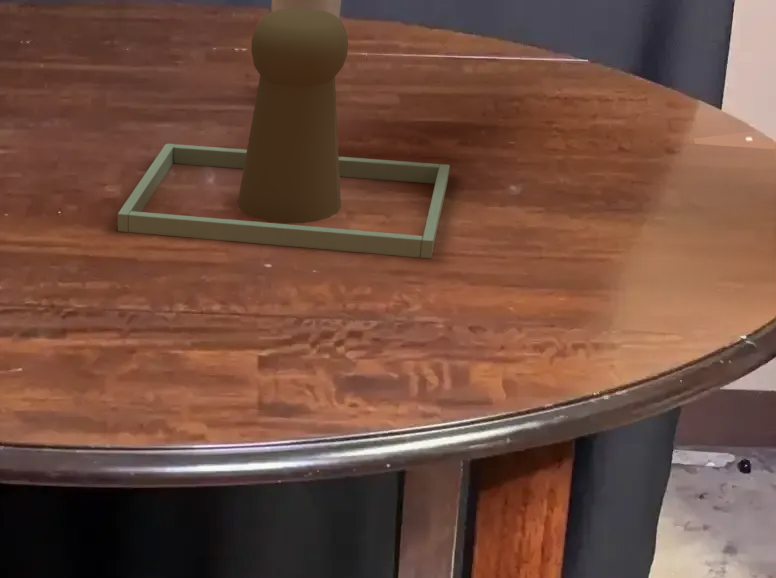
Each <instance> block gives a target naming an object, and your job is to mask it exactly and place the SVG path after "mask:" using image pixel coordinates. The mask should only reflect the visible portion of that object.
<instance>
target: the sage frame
mask: <svg viewBox="0 0 776 578" xmlns="http://www.w3.org/2000/svg"><path fill="white" fill-rule="evenodd" d="M246 153H247V149H244V148H232V147H231V148H230V147H218V146H217V147H216V146H203V145H202V146H201V145H192V144H191V145H190V144H177V143H165V144H164V145H163V147H162V148H161V150H160V151H159V153H158V154H157V155H156V157H155V159H154V160H153V161H152V162H151V164H150V165H149V167H148V169H147V170H146V171H145V172H144V175H143V176H142V178H141V179H140V181H139V182H138V183H137V185H136V186H135V188H134V189H133V191H132V192H131V194H130V195H129V197H128V198H127V200H125V202H124V204H123V205H122V207H121V209H120V210H119V211H118V212H117V232H123V233H124V232H125V233H135V234H147V235H159V236H169V237H171V236H172V237H181V238H193V239H203V240H204V239H205V240H215V241H216V240H217V241H225V242H226V241H227V242H238V243H250V244H261V245H272V246H284V247H296V248H308V249H316V250H317V249H319V250H327V251H328V250H329V251H340V252H352V253H353V252H354V253H363V254H376V255H385V256H386V255H387V256H397V257H408V258H409V257H410V258H421V259H431V258H432V257H433V252H434V249H435V248H434V247H435V242H436V239H437V233H438V229H439V224H440V219H441V214H442V210H443V205H444V201H445V196H446V191H447V188H448V183H449V176H450V175H449V174H450V169H451V168H450V167H451V166H450V164H445V163H443V164H442V163H432V162H431V163H429V162H417V161H406V160H405V161H404V160H390V159H376V158H364V157H350V156H339V177H343V178H358V179H371V180H384V181H397V182H409V183H422V184H424V183H425V184H434V187H433V192H432V196H431V199H430V204H429V208H428V212H427V217H426V221H425V224H424V230H423V233H422V235H416V234H406V233H394V232H382V231H381V232H380V231H370V230H369V231H368V230H357V229H347V228H334V227H323V226H312V225H311V226H310V225H299V224H290V223H278V222H265V221H252V220H242V219H241V220H239V219H228V218H218V217H217V218H215V217H206V216H205V217H204V216H194V215H182V214H170V213H169V214H168V213H157V212H147V211H146V212H145V211H143V210H144V208H145V207H146V205H147V204H148V202H149V201H150V199H151V197H152V196H153V194H154V193H155V191H156V190H157V188H158V187H159V185H160V184H161V182H162V181H163V179H164V178H165V176H166V175H167V173H168V172H169V170H170V169H171V167H172V166H173V164H175V165H177V164H178V165H191V166H203V167H214V168H215V167H217V168H231V169H241V170H244V164H245V158H246Z"/></svg>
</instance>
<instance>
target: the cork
mask: <svg viewBox="0 0 776 578" xmlns="http://www.w3.org/2000/svg"><path fill="white" fill-rule="evenodd" d="M250 48H251V50H250V51H251V56H252V62H253V65H254V68H255V70H256V71H257V72H258V74H259V80H258V86H257V92H256V97H255V103H254V109H253V114H252V119H251V124H250V129H249V130H250V131H249V137H248V142H247V147H246V150H247V153H246V158H245V164H244V169H242V176H241V182H240V187H239V194H238V199H237V205H238V208H239V209H240V210H241V211H242V212H243V213H244V214H247V216H248V215H249V216H251V217H253V218H255V219H258V220H259V219H260V220H263V221H268V222H271V223H280V224H304V223H313V222H319V221H322V220H325V219H326V220H327V219H328V218H331V217H333V216H334V215H336V214H338V213H339V211H340V209H341V207H342V203H341V201H342V200H341V182H340V181H341V179H340V177H341V176H339V157H340V155H339V137H338V136H339V135H338V118H337V117H338V115H337V114H338V113H337V97H336V96H337V94H336V77H337V76H338V74H339V72H340V71H341V70H342V69H343V67H344V65H345V63H346V59H347V56H348V49H349V39H348V32H347V30H346V26H345V25H344V23H343V21H342V20H341V18H340V19H339V18H338V17H336V16H335V15H333V14H331V13H329V12H325V11H321V10H316V9H310V8H291V9H283V10H278V11H274V12H271V13H270V12H269V13H267V14H265V15H264V16H263V17H261V18H260V20H259V21H258V23H257V24H256V26H255V28H254V30H253V34H252V37H251V47H250Z"/></svg>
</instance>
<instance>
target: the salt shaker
mask: <svg viewBox="0 0 776 578" xmlns="http://www.w3.org/2000/svg"><path fill="white" fill-rule="evenodd" d="M291 8H310V9H316V10H321V11H325V12H329V13H331V14H333V15H335V16H336V17H338V18H339V19H341V10H342V0H270V10H269V11H270V12H269V13H271V12H274V11H278V10H283V9H291Z"/></svg>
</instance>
